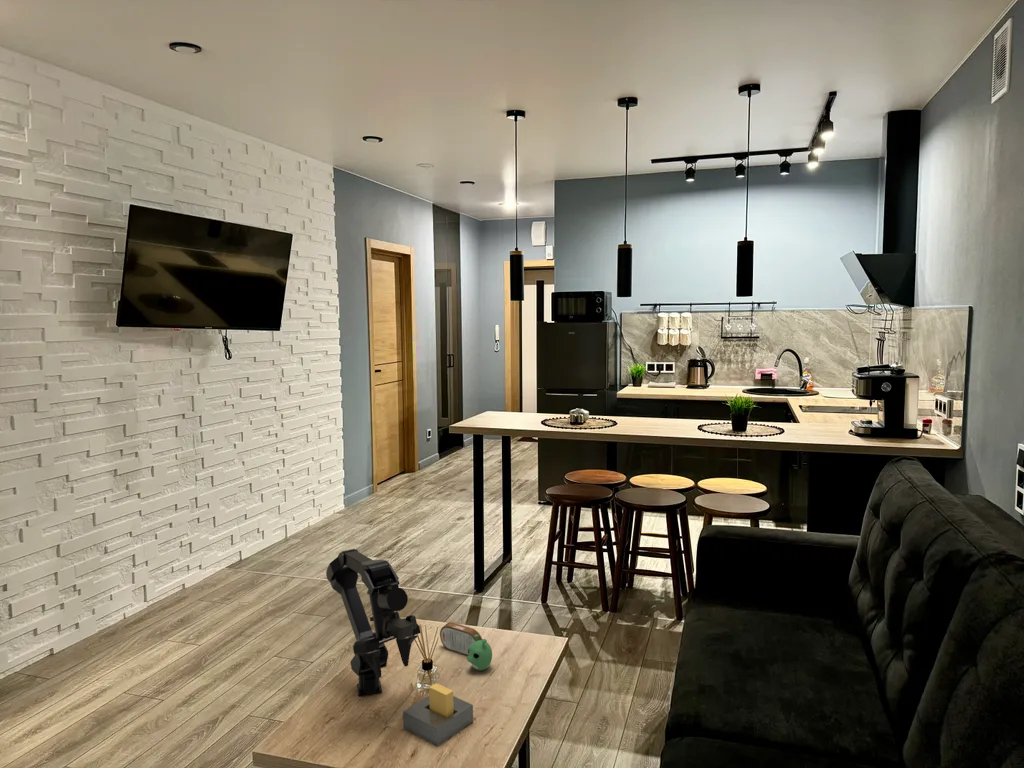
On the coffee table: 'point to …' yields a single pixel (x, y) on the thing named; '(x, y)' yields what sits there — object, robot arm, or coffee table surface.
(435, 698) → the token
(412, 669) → the coffee table surface
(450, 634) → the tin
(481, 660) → the alien toy
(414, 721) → the box
